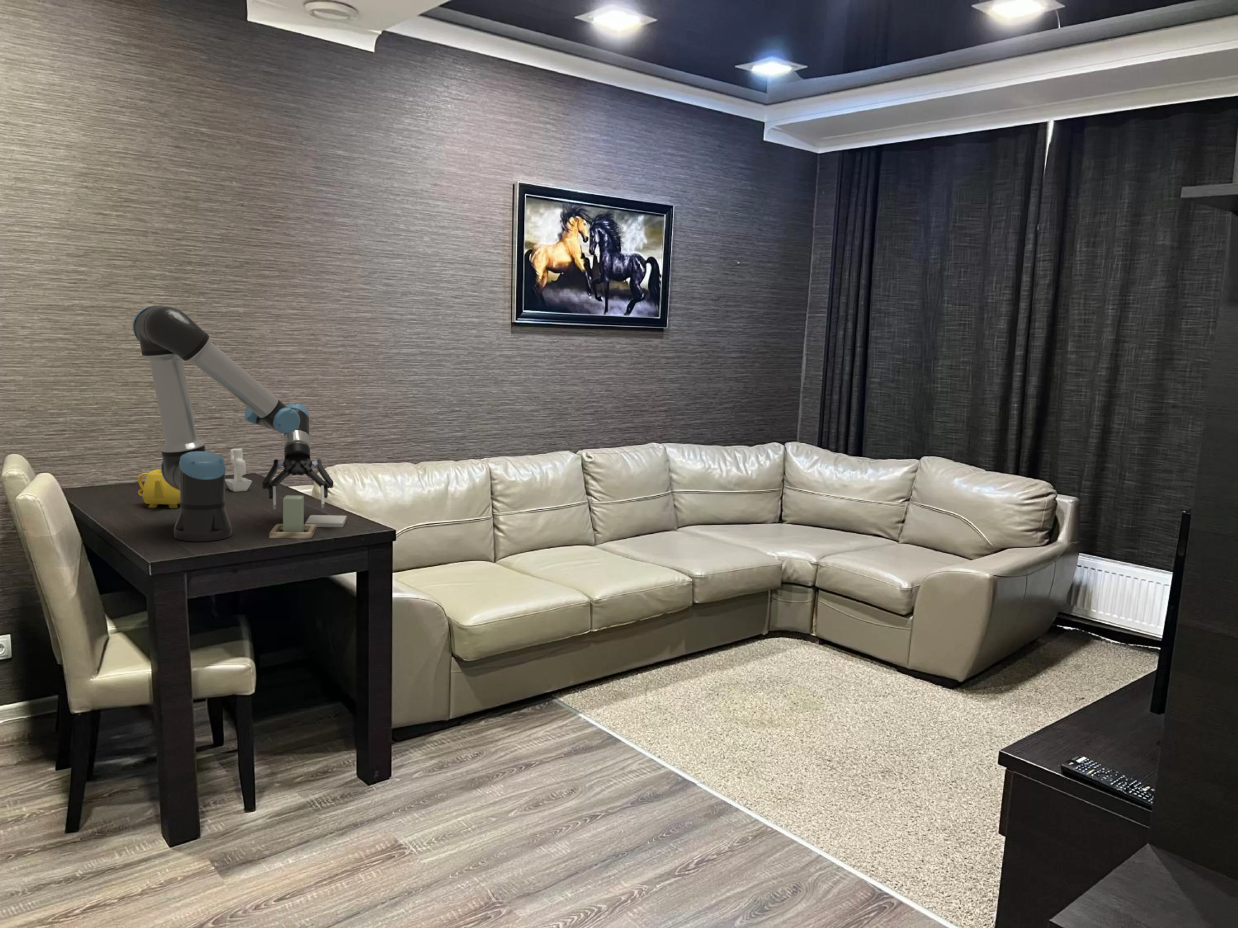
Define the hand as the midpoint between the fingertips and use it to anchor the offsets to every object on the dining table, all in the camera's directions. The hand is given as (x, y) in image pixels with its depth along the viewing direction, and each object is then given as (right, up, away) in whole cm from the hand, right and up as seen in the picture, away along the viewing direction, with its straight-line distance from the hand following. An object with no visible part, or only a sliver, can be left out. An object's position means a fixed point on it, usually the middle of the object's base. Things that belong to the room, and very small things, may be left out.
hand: (299, 506), depth 270 cm
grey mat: (+4, -6, +14) cm, 15 cm away
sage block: (-1, -8, -2) cm, 8 cm away
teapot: (-51, -1, +25) cm, 56 cm away
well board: (-1, -8, -2) cm, 8 cm away
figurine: (-41, +3, +55) cm, 69 cm away
